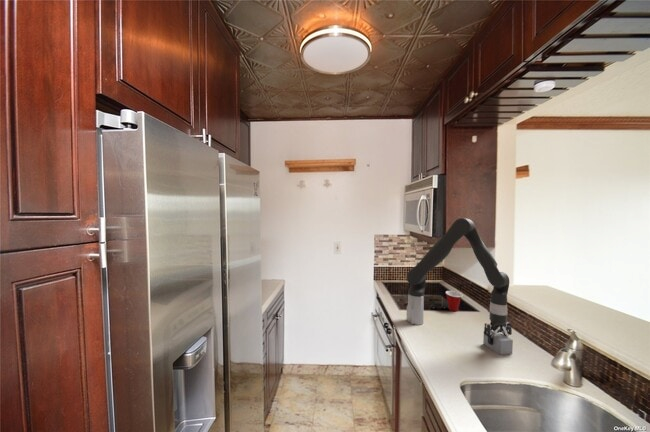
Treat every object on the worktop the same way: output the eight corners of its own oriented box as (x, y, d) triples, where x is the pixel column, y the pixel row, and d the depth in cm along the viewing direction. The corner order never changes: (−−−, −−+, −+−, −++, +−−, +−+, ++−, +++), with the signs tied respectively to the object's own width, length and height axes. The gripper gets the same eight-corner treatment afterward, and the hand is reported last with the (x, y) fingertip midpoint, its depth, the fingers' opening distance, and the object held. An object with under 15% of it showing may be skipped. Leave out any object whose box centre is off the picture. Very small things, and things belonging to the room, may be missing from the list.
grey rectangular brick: (500, 354, 128) (501, 340, 128) (483, 343, 139) (483, 331, 139) (512, 353, 130) (512, 339, 130) (494, 342, 140) (494, 330, 140)
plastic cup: (455, 313, 180) (455, 296, 180) (441, 308, 189) (442, 292, 189) (465, 311, 185) (466, 294, 185) (452, 306, 194) (452, 290, 194)
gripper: (503, 308, 139) (503, 338, 139) (480, 310, 136) (479, 341, 137) (516, 313, 132) (515, 346, 132) (492, 315, 129) (491, 348, 129)
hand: (497, 343), depth 134 cm, fingers open, 8 cm apart
